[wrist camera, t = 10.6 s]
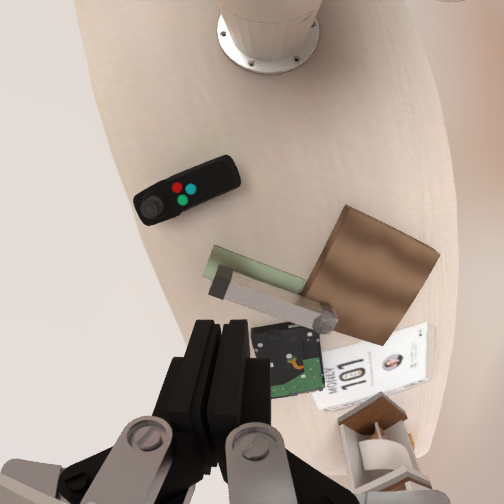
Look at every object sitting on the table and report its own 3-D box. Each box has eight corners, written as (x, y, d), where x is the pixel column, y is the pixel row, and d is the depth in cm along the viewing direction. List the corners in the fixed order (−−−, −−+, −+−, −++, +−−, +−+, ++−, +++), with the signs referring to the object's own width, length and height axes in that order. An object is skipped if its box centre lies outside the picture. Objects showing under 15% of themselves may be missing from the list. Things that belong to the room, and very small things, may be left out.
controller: (151, 184, 40) (119, 201, 31) (235, 147, 38) (225, 152, 29) (164, 213, 42) (136, 237, 32) (248, 178, 39) (242, 193, 30)
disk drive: (249, 325, 49) (268, 389, 54) (248, 336, 46) (268, 400, 51) (315, 314, 47) (324, 380, 52) (317, 324, 45) (327, 391, 50)
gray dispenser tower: (405, 411, 55) (448, 548, 23) (365, 435, 59) (392, 569, 26) (380, 391, 53) (427, 551, 20) (337, 418, 56) (361, 573, 23)
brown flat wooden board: (246, 162, 39) (245, 164, 36) (433, 248, 42) (440, 254, 39) (203, 275, 45) (199, 283, 42) (378, 336, 48) (382, 346, 45)
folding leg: (336, 306, 42) (340, 318, 40) (325, 324, 44) (329, 336, 41) (219, 263, 41) (215, 273, 38) (211, 283, 42) (207, 295, 39)
